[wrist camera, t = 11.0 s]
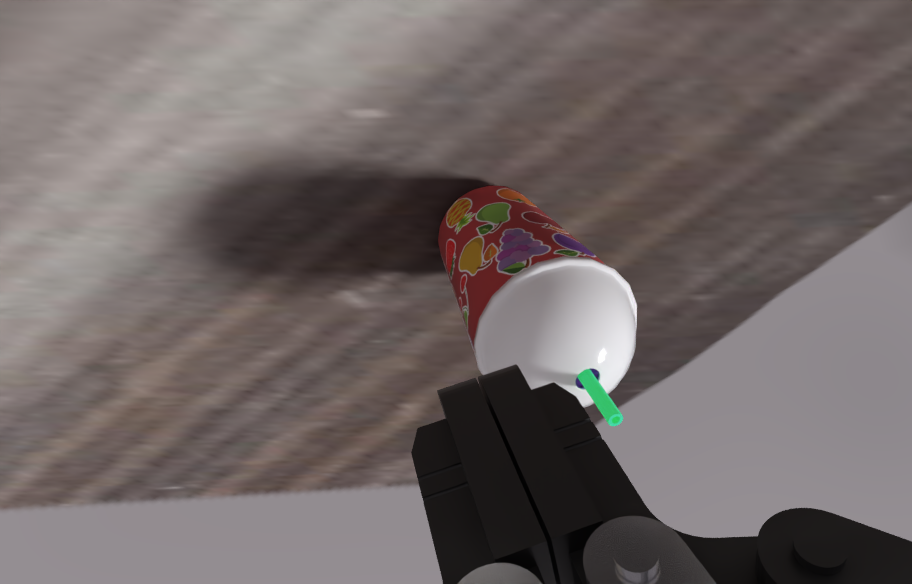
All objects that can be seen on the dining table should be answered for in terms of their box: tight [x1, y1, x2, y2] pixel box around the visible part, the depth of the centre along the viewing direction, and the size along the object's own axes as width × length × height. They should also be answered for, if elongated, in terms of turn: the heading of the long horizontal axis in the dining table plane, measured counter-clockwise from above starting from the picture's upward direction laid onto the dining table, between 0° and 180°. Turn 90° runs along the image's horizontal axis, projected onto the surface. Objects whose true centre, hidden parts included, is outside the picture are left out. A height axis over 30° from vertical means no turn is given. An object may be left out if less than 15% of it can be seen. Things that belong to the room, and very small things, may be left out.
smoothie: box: [438, 186, 637, 426], centre depth 34 cm, size 8×8×20 cm
